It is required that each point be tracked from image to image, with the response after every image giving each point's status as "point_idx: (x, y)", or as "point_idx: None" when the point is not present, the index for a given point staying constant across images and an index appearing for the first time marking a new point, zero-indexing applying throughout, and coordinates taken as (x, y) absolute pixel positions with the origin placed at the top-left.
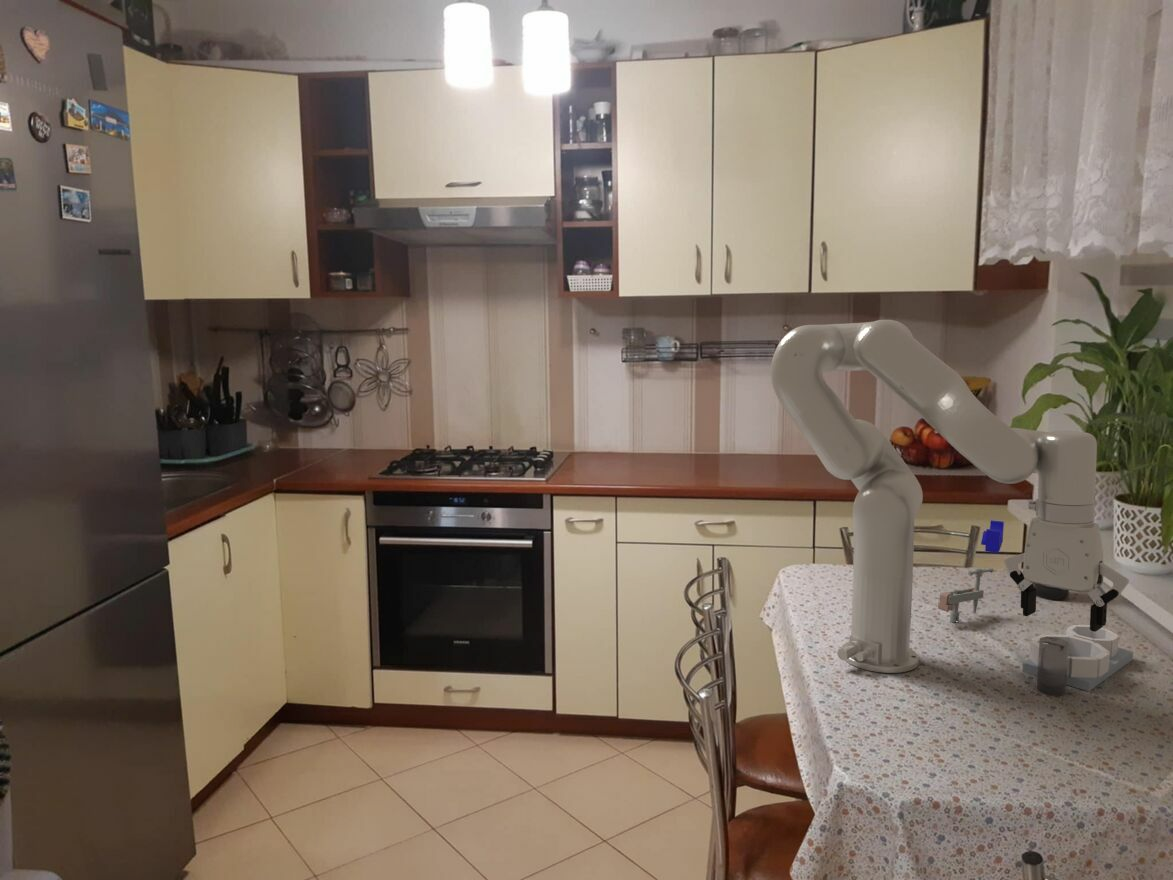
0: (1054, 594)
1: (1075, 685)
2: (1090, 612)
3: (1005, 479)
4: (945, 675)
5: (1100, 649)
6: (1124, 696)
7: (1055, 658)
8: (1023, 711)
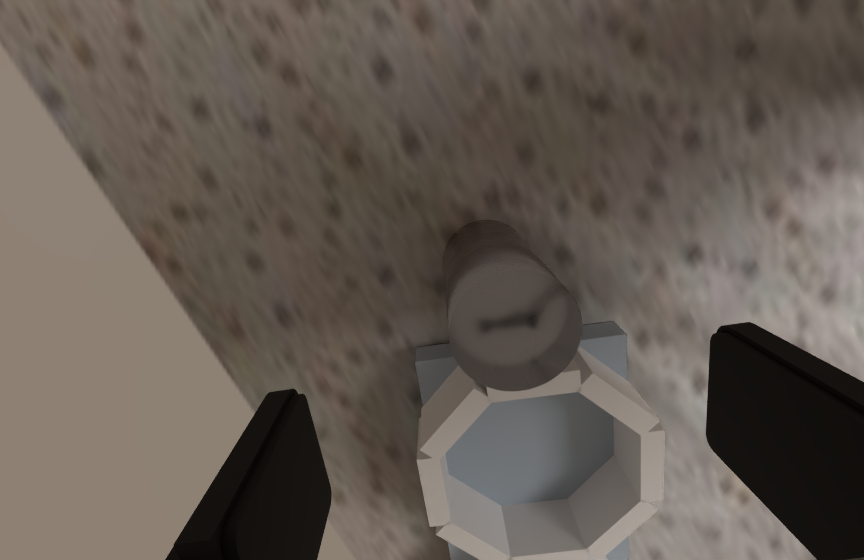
0: None
1: None
2: (259, 483)
3: None
4: (791, 52)
5: (464, 532)
6: (345, 396)
7: (469, 264)
8: (446, 13)
